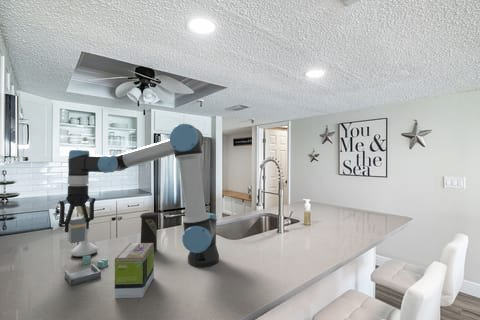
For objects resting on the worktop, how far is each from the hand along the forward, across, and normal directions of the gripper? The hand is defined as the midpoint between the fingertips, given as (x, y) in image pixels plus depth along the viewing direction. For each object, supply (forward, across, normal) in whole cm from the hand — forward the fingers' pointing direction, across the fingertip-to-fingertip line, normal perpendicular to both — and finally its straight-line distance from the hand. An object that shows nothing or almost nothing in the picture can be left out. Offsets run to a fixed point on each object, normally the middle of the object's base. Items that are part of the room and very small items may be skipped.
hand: (76, 237), depth 107 cm
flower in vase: (+14, -7, -16) cm, 22 cm away
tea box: (+14, -12, +33) cm, 38 cm away
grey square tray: (+14, 0, +10) cm, 17 cm away
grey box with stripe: (+1, 0, 0) cm, 1 cm away
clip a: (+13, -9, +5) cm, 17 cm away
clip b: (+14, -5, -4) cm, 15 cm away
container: (+14, -33, +1) cm, 35 cm away
